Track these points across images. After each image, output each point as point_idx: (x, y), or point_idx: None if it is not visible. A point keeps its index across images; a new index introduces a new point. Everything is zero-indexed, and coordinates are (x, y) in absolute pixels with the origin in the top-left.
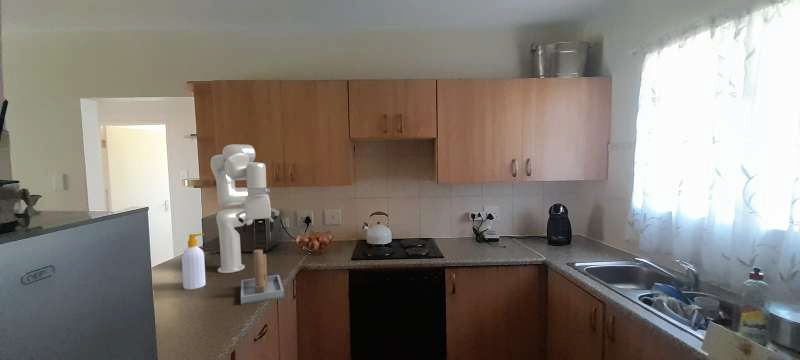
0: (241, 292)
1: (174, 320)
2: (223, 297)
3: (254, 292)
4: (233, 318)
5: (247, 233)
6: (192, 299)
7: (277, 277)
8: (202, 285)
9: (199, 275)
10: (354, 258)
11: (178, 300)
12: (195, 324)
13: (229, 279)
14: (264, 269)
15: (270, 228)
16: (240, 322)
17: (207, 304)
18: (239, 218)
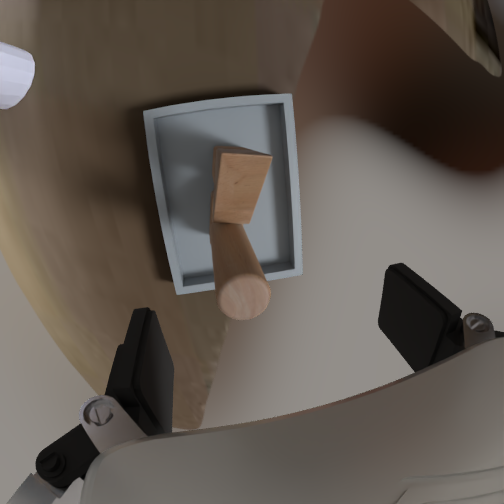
0: (168, 253)
1: (57, 320)
2: (109, 204)
3: (204, 209)
4: (180, 350)
5: (173, 366)
6: (31, 195)
7: (286, 127)
8: (28, 86)
9: (2, 92)
10: (479, 28)
11: (5, 193)
12: (110, 352)
13: (100, 22)
14: (251, 213)
15: (393, 342)
16: (201, 369)
17: (83, 249)
18: (75, 501)
